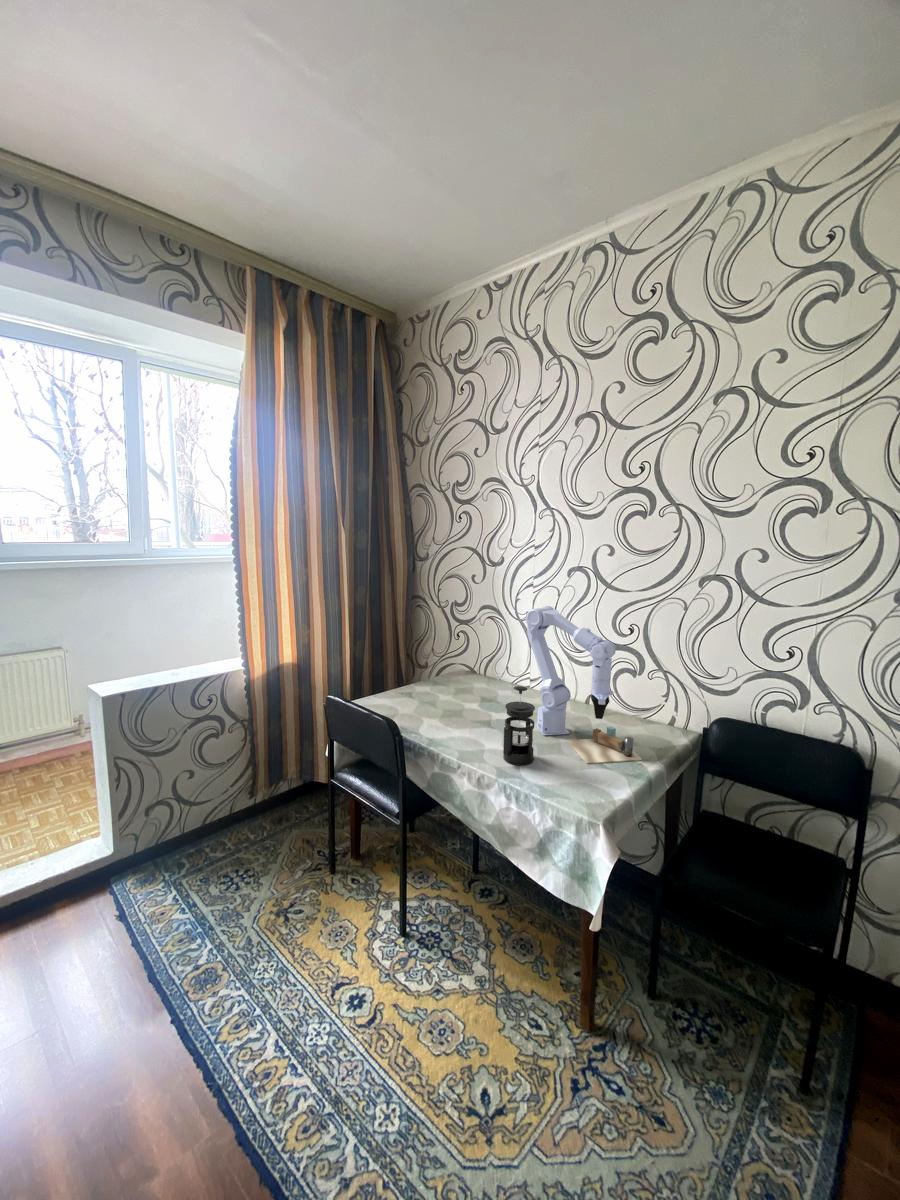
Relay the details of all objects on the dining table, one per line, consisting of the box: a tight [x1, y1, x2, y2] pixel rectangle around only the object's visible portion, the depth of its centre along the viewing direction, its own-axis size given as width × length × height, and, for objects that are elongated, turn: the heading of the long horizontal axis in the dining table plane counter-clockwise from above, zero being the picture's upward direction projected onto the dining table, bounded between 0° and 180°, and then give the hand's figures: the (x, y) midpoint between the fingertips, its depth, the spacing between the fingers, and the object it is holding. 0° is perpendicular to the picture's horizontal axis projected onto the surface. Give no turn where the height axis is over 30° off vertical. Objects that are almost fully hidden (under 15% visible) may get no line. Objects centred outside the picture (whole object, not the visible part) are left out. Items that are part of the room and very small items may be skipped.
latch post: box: [606, 726, 617, 737], centre depth 165 cm, size 2×2×4 cm
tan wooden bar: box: [592, 727, 625, 752], centre depth 159 cm, size 11×2×4 cm, turn 36°
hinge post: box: [624, 736, 634, 757], centre depth 153 cm, size 2×2×6 cm
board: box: [566, 736, 643, 765], centre depth 158 cm, size 18×16×1 cm
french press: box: [502, 685, 536, 767], centre depth 150 cm, size 12×9×23 cm
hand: (598, 718), depth 160 cm, fingers closed
